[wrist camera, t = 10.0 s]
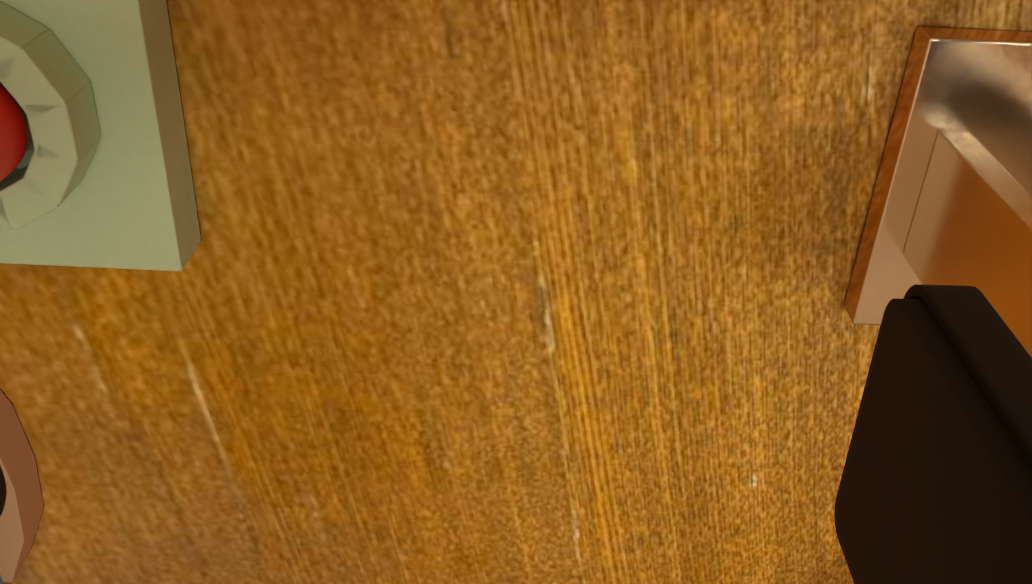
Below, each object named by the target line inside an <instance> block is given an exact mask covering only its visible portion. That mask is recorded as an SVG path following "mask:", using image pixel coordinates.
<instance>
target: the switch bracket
mask: <svg viewBox="0 0 1032 584" xmlns="http://www.w3.org/2000/svg"><path fill="white" fill-rule="evenodd" d="M915 284H920V285H961V286H975V287H976V288H978V289H979V290H980V291H981V292H982V293H983V295H984V296H985V297H986V299H987V300H988V301H989V302H990V304H991V305H992V306H993V308H994V309H995V310H996V312H997V313H998V314H999V316H1000V317H1001V318H1002V320H1003V321H1004V322H1005V323H1006V325H1007V326H1008V327H1009V329H1010V330H1011V331H1012V333H1013V334H1014V335H1015V337H1016V338H1017V339H1018V341H1019V342H1020V343H1021V344H1022V346H1023V347H1024V348H1025V350H1026V351H1027V352H1028V354H1029V355H1030V356H1031V358H1032V32H1024V31H1003V30H982V29H961V28H940V27H917V29H916V33H915V37H914V40H913V44H912V48H911V52H910V56H909V59H908V63H907V67H906V71H905V75H904V79H903V82H902V86H901V90H900V94H899V98H898V101H897V105H896V109H895V113H894V117H893V121H892V124H891V128H890V132H889V136H888V140H887V143H886V147H885V151H884V155H883V159H882V163H881V166H880V170H879V174H878V178H877V182H876V185H875V189H874V193H873V197H872V201H871V205H870V208H869V212H868V216H867V220H866V224H865V227H864V231H863V235H862V239H861V243H860V247H859V250H858V254H857V258H856V262H855V266H854V270H853V273H852V277H851V281H850V285H849V289H848V292H847V296H846V300H845V304H844V307H845V309H846V311H847V313H848V315H849V317H850V319H851V321H852V323H854V324H869V325H881V322H882V318H883V314H884V311H885V308H886V306H887V304H888V303H889V301H890V300H892V299H893V298H898V299H903V298H904V296H905V294H906V292H907V291H908V289H909V288H910V287H911V286H913V285H915Z"/></svg>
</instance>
